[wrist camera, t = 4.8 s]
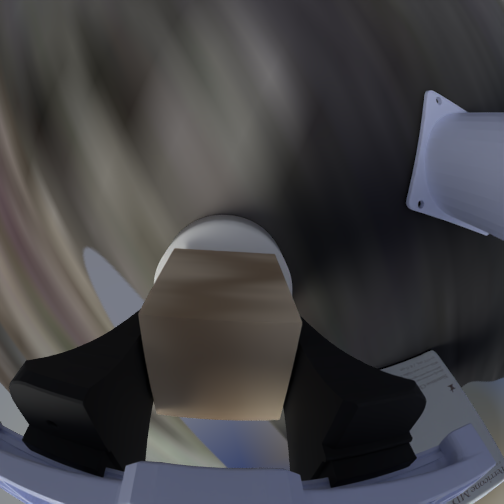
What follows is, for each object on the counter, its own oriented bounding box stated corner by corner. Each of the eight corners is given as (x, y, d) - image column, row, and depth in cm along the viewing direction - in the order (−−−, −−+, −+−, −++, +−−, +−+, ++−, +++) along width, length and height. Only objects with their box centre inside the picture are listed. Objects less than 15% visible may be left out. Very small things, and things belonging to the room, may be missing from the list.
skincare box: (433, 347, 20) (520, 466, 6) (420, 389, 22) (483, 497, 8) (349, 376, 20) (416, 536, 6) (345, 416, 22) (392, 547, 8)
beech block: (275, 254, 13) (302, 322, 8) (264, 335, 14) (279, 419, 9) (174, 248, 12) (138, 313, 7) (177, 331, 14) (156, 413, 9)
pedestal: (296, 225, 16) (307, 239, 13) (270, 330, 18) (275, 354, 16) (169, 205, 15) (158, 216, 12) (162, 315, 17) (153, 339, 15)
